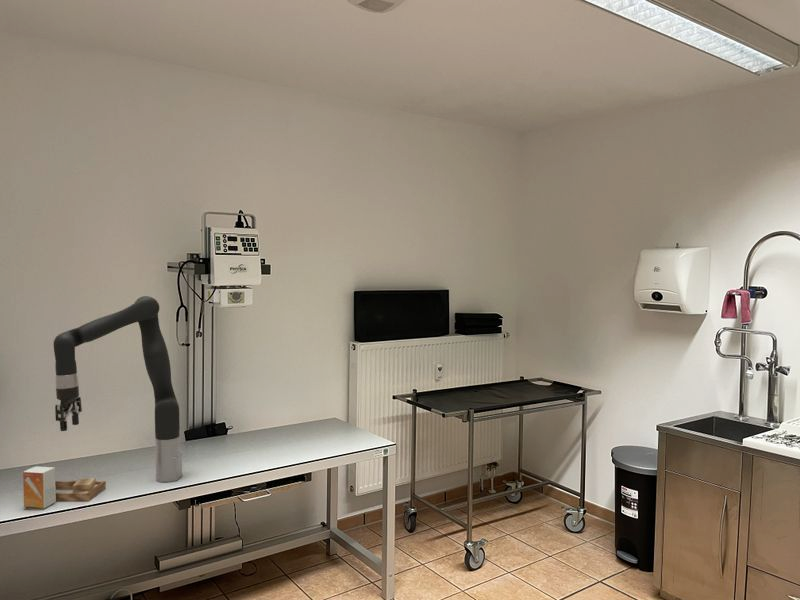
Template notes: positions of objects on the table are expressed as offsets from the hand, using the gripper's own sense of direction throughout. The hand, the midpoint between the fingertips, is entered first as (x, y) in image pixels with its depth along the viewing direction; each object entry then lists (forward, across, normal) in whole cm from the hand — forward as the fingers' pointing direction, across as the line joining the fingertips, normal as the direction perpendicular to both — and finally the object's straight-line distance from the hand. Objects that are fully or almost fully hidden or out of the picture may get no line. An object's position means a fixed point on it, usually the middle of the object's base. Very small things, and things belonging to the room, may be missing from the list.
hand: (69, 427), depth 230 cm
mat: (+25, -13, +6) cm, 29 cm away
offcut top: (+23, -2, -5) cm, 24 cm away
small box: (+25, -13, +6) cm, 28 cm away
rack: (+25, -2, +1) cm, 25 cm away
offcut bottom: (+26, -3, -5) cm, 27 cm away
